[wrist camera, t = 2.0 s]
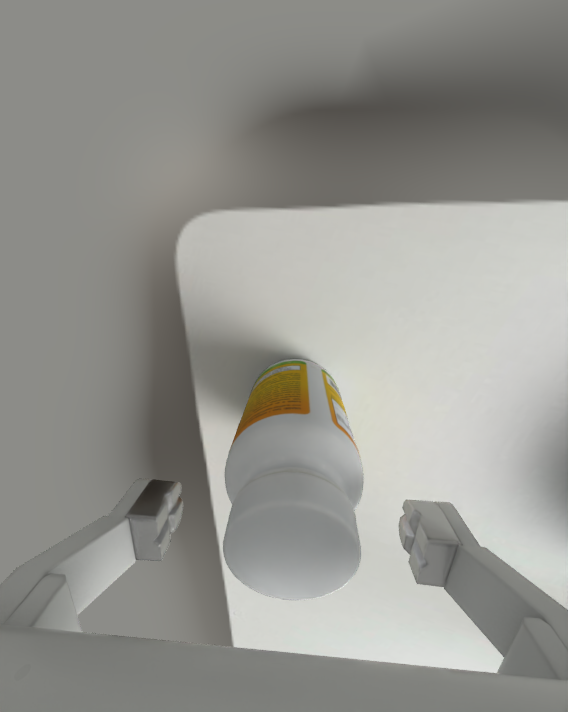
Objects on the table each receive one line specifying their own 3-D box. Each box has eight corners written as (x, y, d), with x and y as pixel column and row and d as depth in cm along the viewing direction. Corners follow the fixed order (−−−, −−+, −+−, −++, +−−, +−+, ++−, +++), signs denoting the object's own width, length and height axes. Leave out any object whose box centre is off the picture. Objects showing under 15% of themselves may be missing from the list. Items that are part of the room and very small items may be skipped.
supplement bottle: (240, 415, 17) (174, 584, 8) (272, 342, 16) (233, 452, 7) (315, 445, 18) (333, 637, 9) (354, 377, 16) (427, 527, 7)
